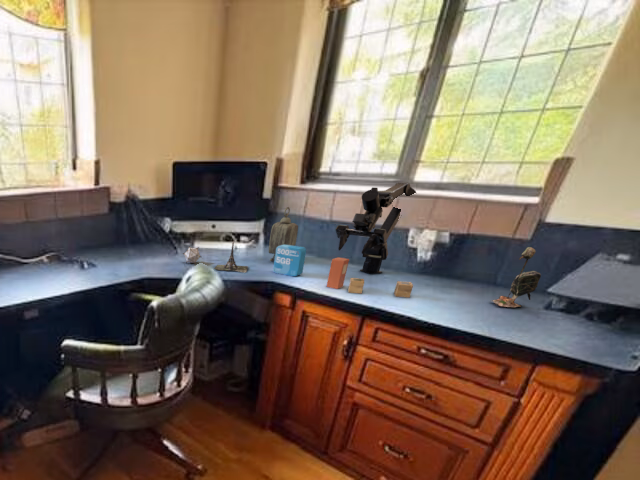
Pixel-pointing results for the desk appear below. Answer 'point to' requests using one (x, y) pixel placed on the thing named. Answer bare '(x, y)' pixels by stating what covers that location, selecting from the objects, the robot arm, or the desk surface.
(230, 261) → the eiffel tower figurine
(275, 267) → the data package
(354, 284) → the maple cube
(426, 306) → the desk surface
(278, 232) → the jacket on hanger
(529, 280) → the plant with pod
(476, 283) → the desk surface
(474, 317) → the desk surface
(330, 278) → the orange rectangular block
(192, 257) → the game die
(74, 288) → the desk surface
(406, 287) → the maple cube
